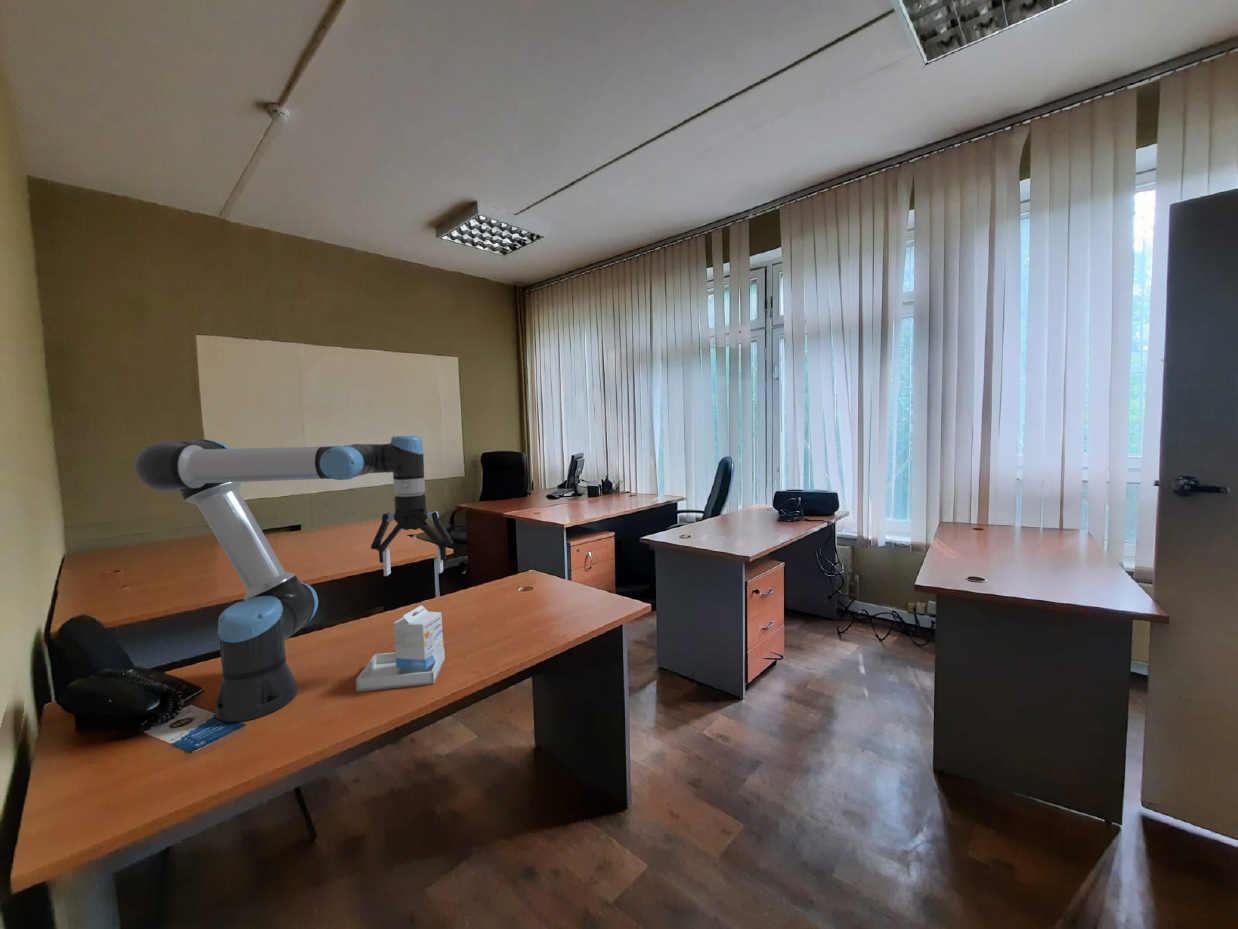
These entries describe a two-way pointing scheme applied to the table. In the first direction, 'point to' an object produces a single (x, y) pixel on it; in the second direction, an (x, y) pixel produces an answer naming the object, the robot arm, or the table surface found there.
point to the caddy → (394, 674)
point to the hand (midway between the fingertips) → (414, 573)
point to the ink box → (418, 639)
